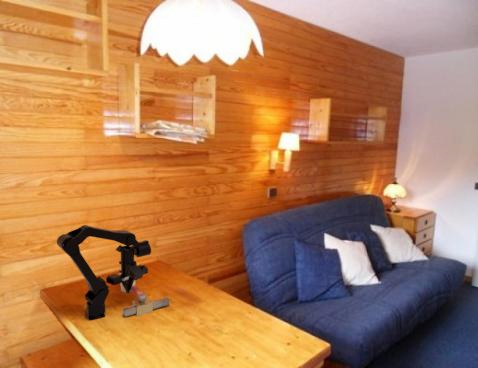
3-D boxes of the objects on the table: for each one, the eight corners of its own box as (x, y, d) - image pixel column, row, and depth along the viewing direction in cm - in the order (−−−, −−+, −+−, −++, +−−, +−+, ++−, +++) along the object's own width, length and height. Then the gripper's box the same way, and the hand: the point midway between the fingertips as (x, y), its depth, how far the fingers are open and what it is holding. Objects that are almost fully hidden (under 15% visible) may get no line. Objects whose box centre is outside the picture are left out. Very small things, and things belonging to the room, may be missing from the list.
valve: (126, 319, 155) (126, 307, 154) (121, 313, 160) (121, 301, 159) (170, 307, 166) (170, 296, 165) (165, 302, 171) (165, 291, 170)
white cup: (133, 293, 180) (133, 273, 179) (117, 292, 180) (116, 273, 179) (138, 286, 188) (137, 267, 187) (122, 286, 188) (122, 267, 187)
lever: (147, 300, 161) (147, 296, 160) (140, 301, 159) (139, 297, 159) (136, 289, 172) (136, 285, 171) (129, 290, 170) (129, 286, 170)
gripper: (121, 269, 152) (122, 305, 154) (156, 257, 167) (156, 290, 169) (104, 263, 159) (105, 298, 161) (139, 252, 174) (140, 284, 176)
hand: (128, 292), depth 166 cm, fingers closed
